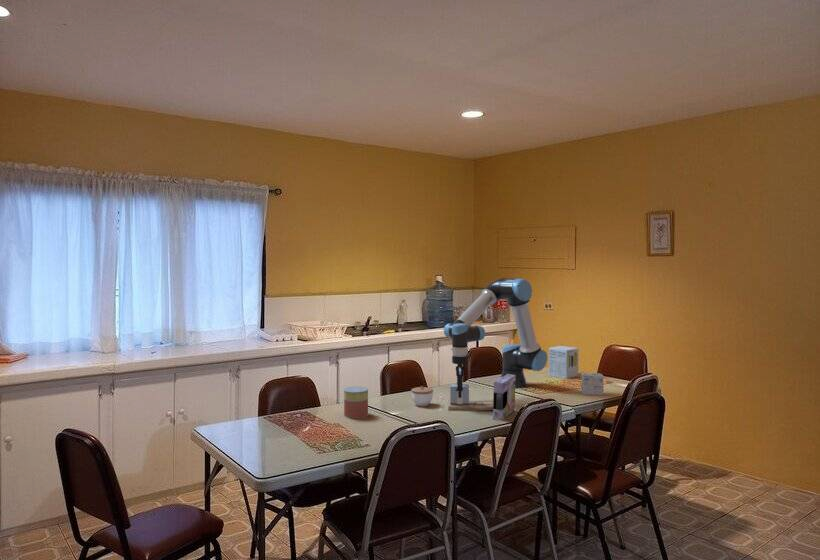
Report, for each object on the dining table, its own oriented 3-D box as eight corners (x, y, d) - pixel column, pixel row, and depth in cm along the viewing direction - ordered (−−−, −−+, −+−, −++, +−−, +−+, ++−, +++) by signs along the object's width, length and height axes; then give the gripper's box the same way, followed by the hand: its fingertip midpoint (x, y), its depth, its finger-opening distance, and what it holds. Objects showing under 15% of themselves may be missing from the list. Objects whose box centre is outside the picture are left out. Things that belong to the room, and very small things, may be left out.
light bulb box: (601, 392, 313) (601, 372, 312) (603, 395, 306) (604, 375, 306) (580, 392, 314) (581, 372, 313) (583, 395, 307) (583, 375, 307)
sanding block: (450, 402, 287) (450, 384, 286) (468, 402, 286) (468, 384, 286) (450, 404, 282) (450, 386, 281) (469, 405, 281) (469, 386, 281)
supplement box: (566, 379, 348) (566, 350, 347) (548, 375, 358) (548, 347, 357) (578, 376, 357) (579, 347, 356) (560, 372, 367) (560, 345, 366)
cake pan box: (501, 421, 259) (501, 382, 258) (491, 419, 261) (491, 381, 260) (515, 411, 275) (516, 374, 275) (505, 410, 278) (506, 373, 277)
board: (448, 403, 291) (448, 400, 291) (500, 404, 289) (500, 401, 289) (448, 410, 278) (448, 407, 278) (502, 411, 276) (502, 407, 276)
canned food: (373, 415, 270) (373, 389, 269) (353, 419, 262) (353, 393, 262) (358, 410, 278) (357, 385, 277) (339, 414, 270) (338, 389, 270)
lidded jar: (426, 408, 281) (426, 389, 280) (407, 405, 286) (407, 387, 286) (436, 403, 290) (436, 385, 289) (418, 401, 295) (418, 382, 295)
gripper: (452, 352, 292) (451, 397, 293) (452, 358, 274) (452, 407, 275) (467, 352, 292) (466, 398, 292) (468, 358, 274) (467, 407, 274)
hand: (459, 402), depth 284 cm, fingers closed on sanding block, 5 cm apart
